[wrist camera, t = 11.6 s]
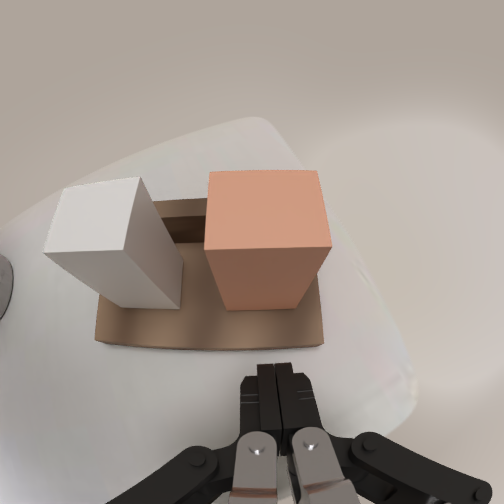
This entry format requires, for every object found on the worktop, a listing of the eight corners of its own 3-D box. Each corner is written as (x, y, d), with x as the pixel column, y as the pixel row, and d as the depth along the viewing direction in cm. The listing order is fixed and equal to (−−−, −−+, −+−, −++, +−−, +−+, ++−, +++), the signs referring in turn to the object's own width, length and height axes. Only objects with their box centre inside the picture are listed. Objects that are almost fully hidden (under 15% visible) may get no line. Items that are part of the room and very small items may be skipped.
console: (105, 343, 20) (66, 330, 15) (119, 241, 24) (92, 207, 19) (317, 346, 20) (340, 335, 15) (306, 235, 25) (319, 196, 19)
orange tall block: (226, 310, 19) (203, 249, 10) (226, 260, 21) (209, 171, 12) (295, 308, 19) (332, 246, 10) (291, 258, 21) (316, 170, 12)
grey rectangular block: (121, 307, 19) (42, 252, 10) (127, 261, 21) (64, 187, 12) (180, 309, 19) (123, 249, 10) (183, 260, 21) (140, 176, 12)
